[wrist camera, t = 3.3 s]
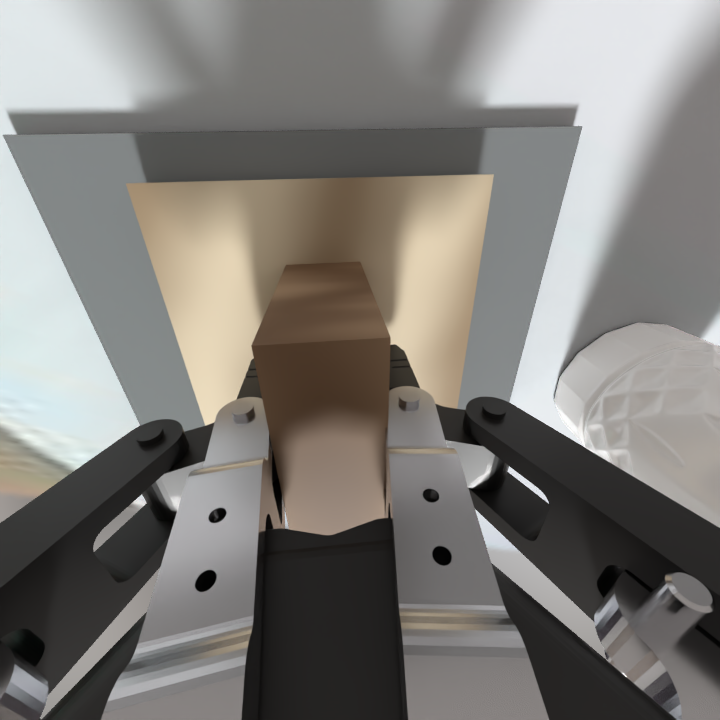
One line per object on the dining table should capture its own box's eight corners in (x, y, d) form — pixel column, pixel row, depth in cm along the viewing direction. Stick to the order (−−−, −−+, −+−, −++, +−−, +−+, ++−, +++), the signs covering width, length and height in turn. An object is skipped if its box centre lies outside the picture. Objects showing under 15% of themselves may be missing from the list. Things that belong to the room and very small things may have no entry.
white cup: (697, 392, 18) (1019, 587, 10) (561, 454, 20) (738, 668, 12) (688, 277, 15) (1193, 430, 6) (523, 364, 16) (742, 581, 8)
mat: (572, 127, 11) (582, 126, 11) (495, 431, 18) (499, 437, 18) (16, 136, 10) (2, 135, 10) (163, 458, 17) (159, 466, 17)
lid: (480, 174, 11) (667, 175, 5) (445, 425, 17) (515, 570, 10) (142, 183, 10) (-115, 195, 4) (222, 442, 16) (157, 610, 10)
